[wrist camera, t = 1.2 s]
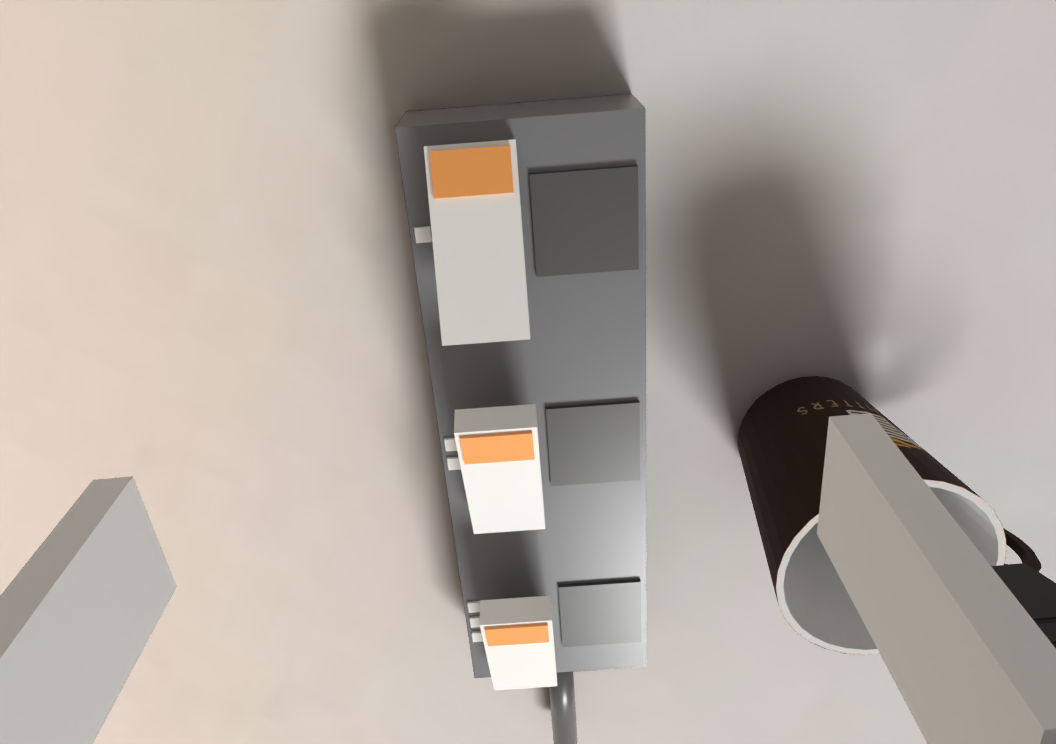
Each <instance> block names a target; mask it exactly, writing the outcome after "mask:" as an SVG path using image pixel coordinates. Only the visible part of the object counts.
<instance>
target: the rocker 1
mask: <svg viewBox="0 0 1056 744" xmlns="http://www.w3.org/2000/svg"><path fill="white" fill-rule="evenodd" d="M424 156H425V167H426V178H427V188H428V199H429V210H430V221H431V231H432V242H433V253H434V264H435V275H436V285H437V296H438V307H439V318H440V329H441V339H442V346H447V345H461V344H474V343H488V342H502V341H515V340H529V339H530V324H529V311H528V297H527V284H526V270H525V257H524V243H523V230H522V216H521V203H520V189H519V176H518V162H517V149H516V139H513V140H500V141H487V142H474V143H461V144H448V145H435V146H424Z"/></svg>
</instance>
